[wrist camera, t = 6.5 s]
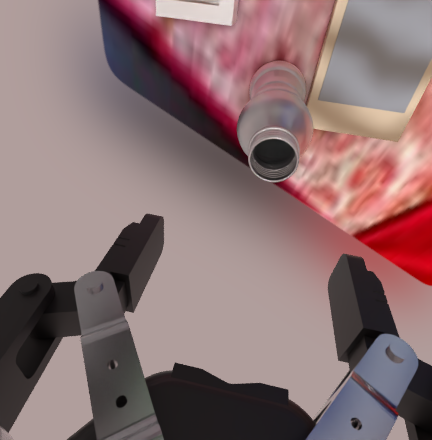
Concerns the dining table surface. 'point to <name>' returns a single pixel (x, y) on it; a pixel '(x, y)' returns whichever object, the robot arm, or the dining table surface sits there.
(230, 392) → the robot arm
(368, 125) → the board
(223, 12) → the button housing
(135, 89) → the dining table surface
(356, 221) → the dining table surface
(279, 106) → the plastic bottle
